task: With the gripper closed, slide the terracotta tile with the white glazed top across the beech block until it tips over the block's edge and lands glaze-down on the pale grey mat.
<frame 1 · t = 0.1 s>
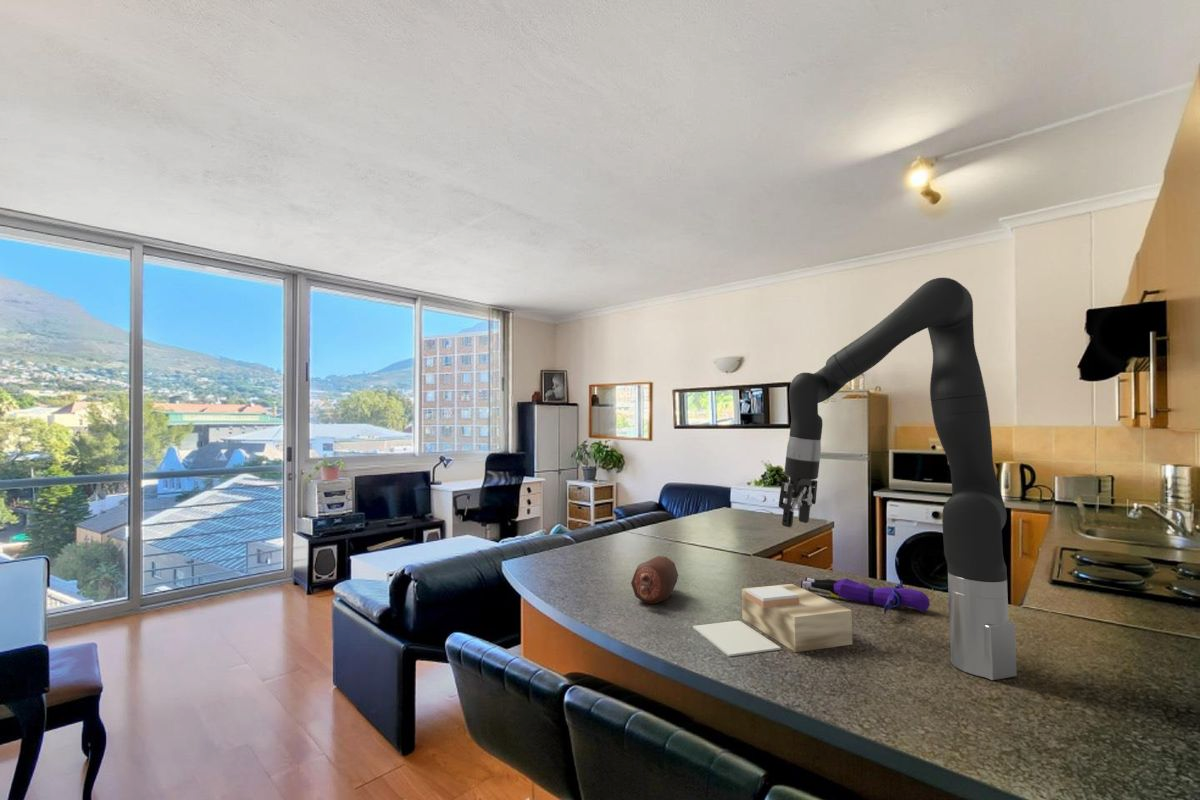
hand: (795, 524, 127), 22 cm above the worktop, tool pointing down, fingers open, 8 cm apart
toy: (863, 603, 139), on the worktop
meat: (655, 599, 142), on the worktop
tile: (771, 601, 118), point 7 cm above the worktop, touching block
block: (793, 630, 119), on the worktop
mat: (734, 638, 115), on the worktop
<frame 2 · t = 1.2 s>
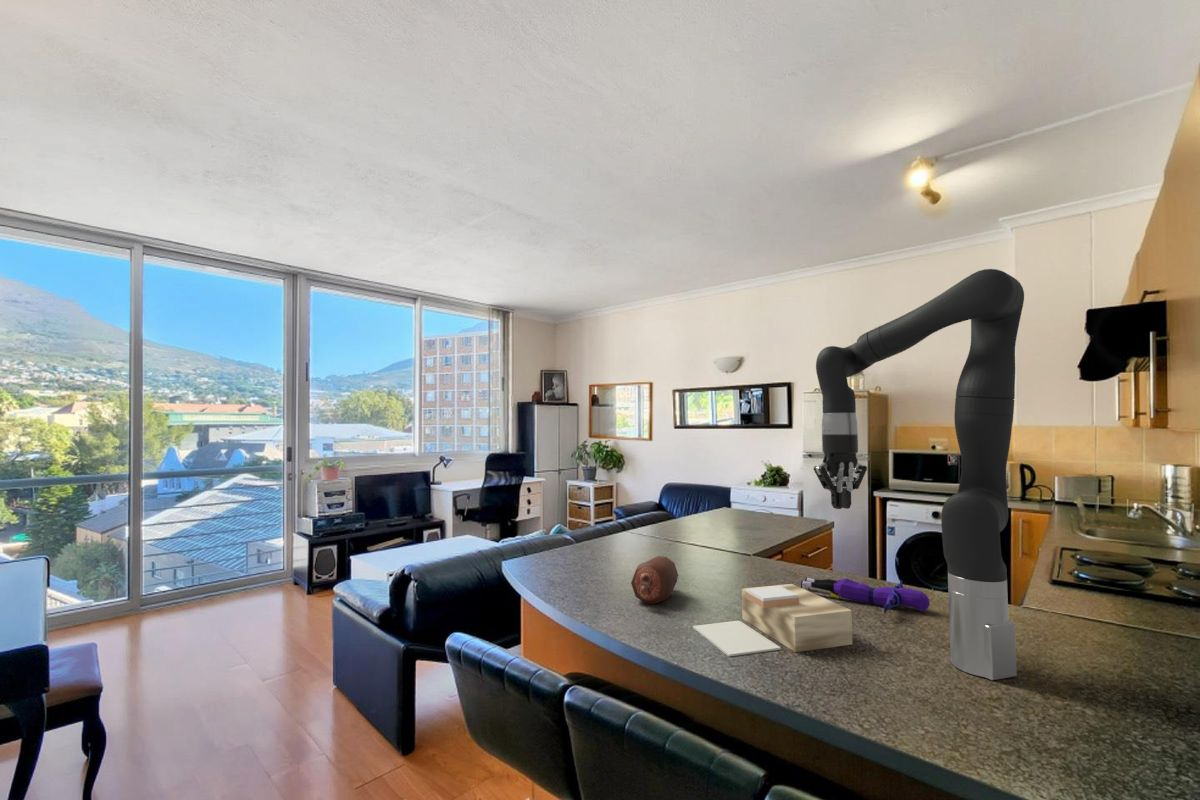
hand: (841, 508, 122), 27 cm above the worktop, tool pointing down, fingers closed
nothing on the worktop moved.
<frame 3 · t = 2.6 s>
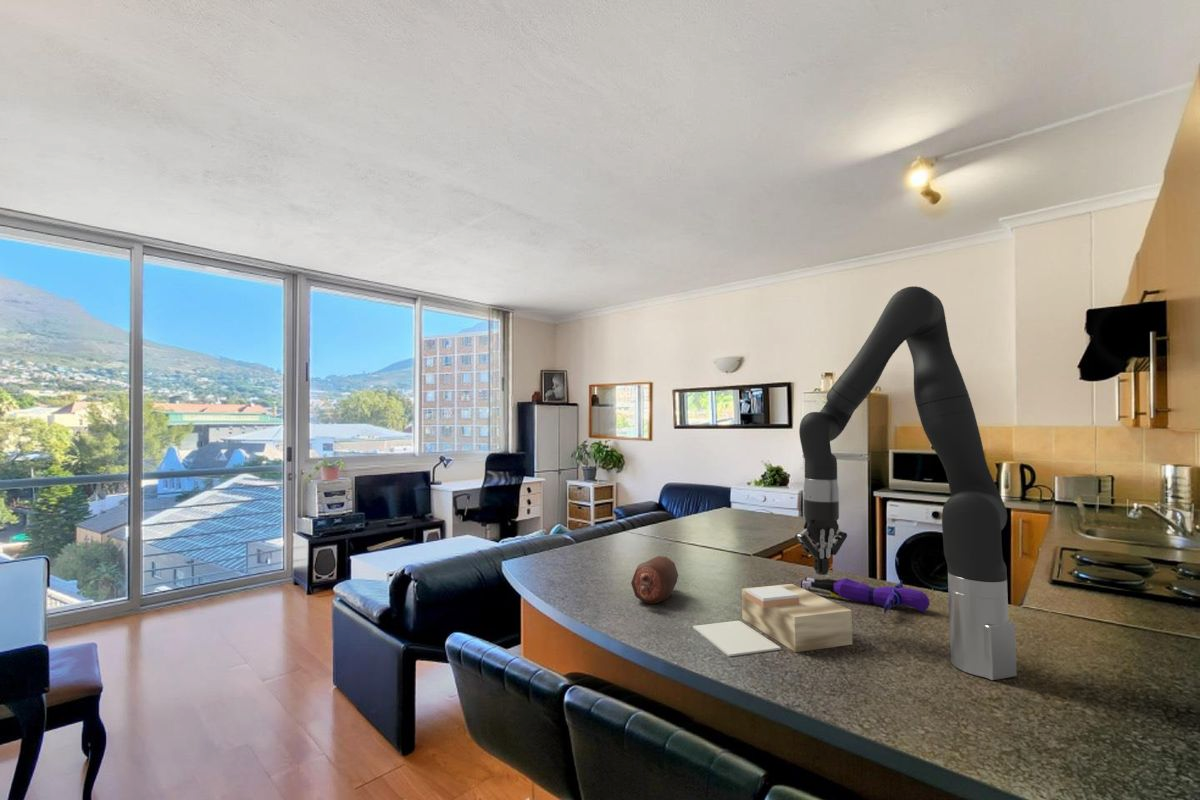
hand: (821, 573, 122), 12 cm above the worktop, tool pointing down, fingers closed
nothing on the worktop moved.
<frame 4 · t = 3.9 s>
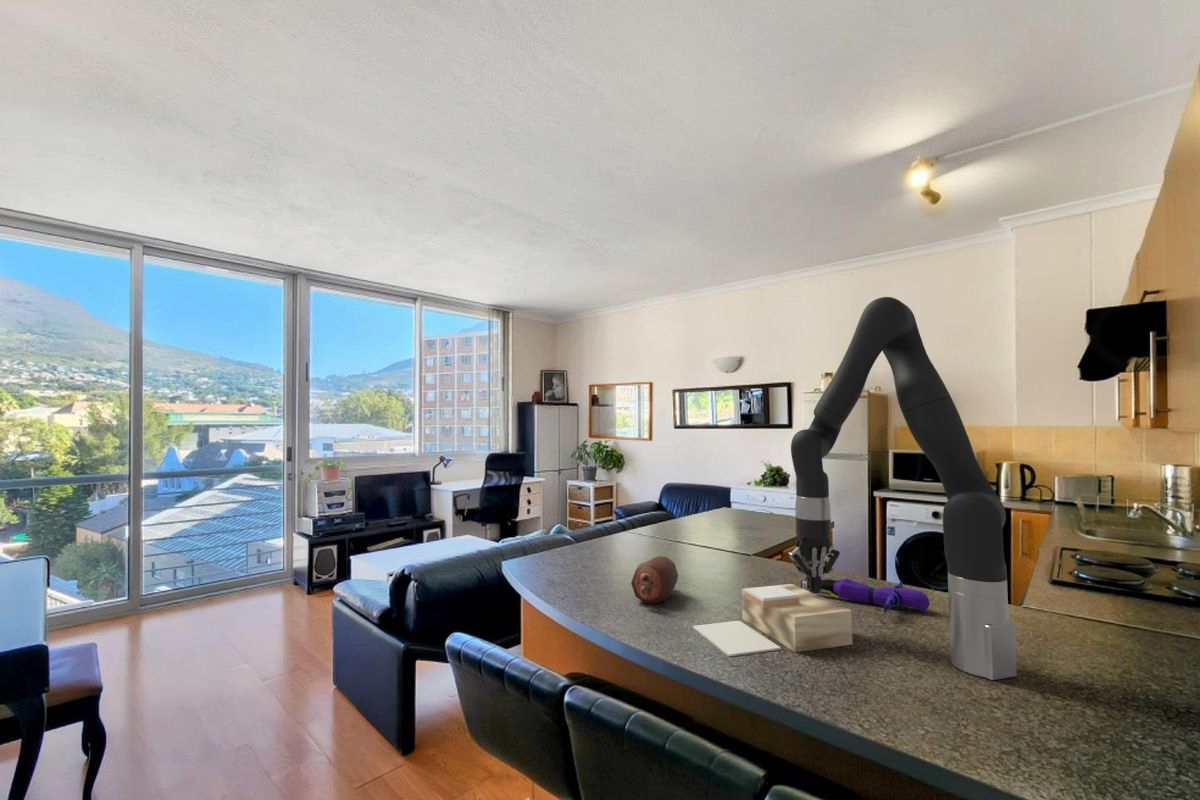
hand: (814, 592, 121), 8 cm above the worktop, tool pointing down, fingers closed
nothing on the worktop moved.
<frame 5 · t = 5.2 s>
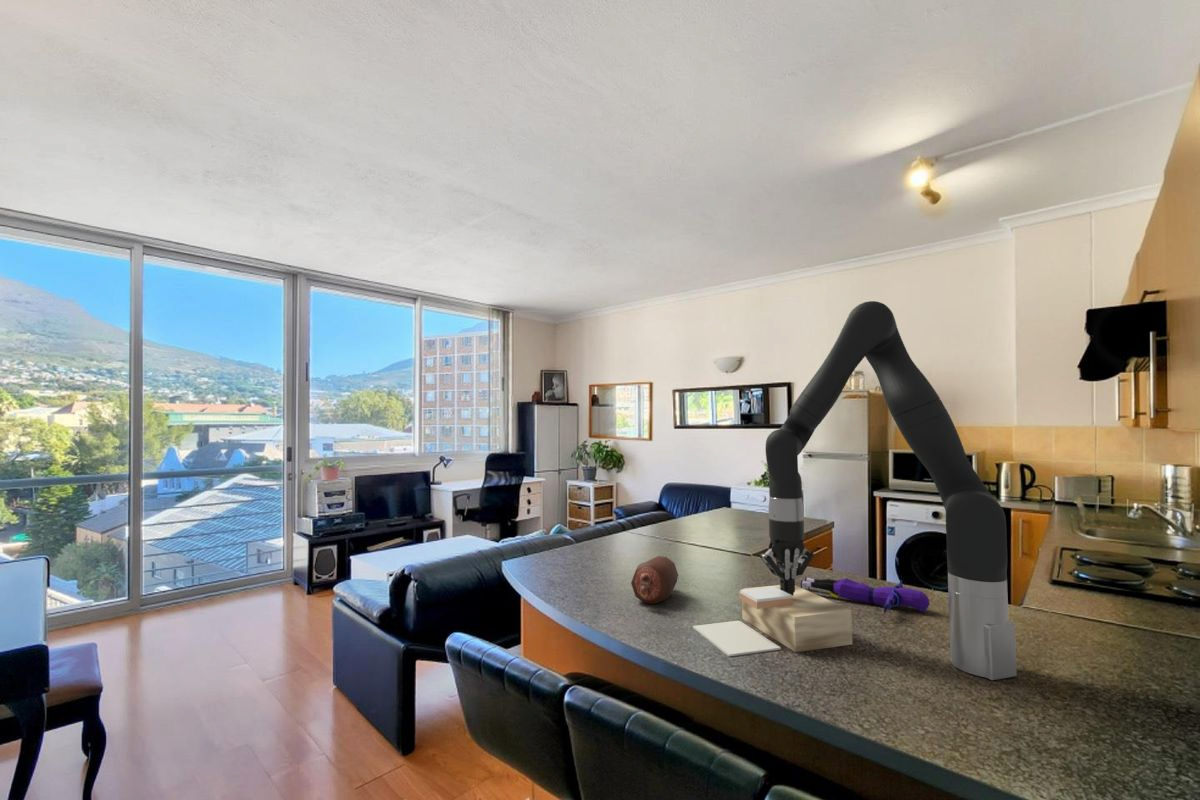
hand: (787, 594, 119), 8 cm above the worktop, tool pointing down, fingers closed
tile: (765, 601, 117), point 7 cm above the worktop, touching gripper
everything else where it was.
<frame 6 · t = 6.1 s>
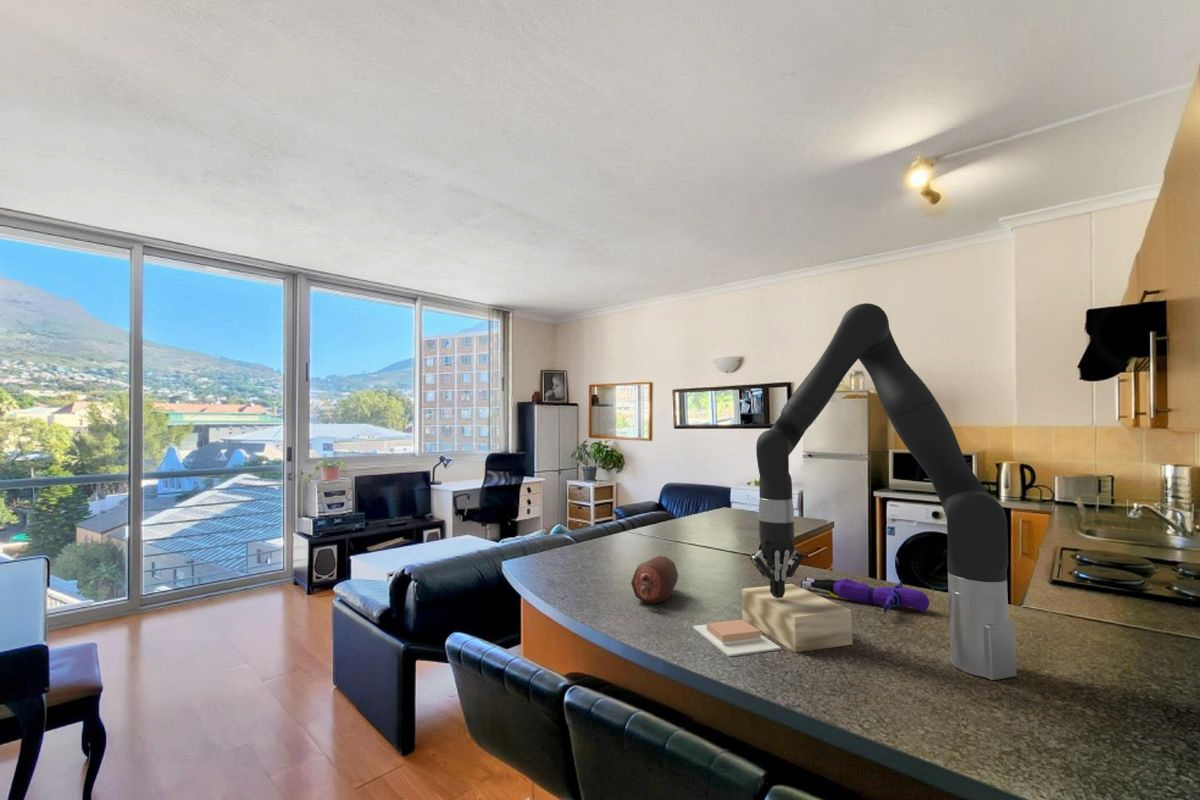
hand: (777, 596, 118), 8 cm above the worktop, tool pointing down, fingers closed
tile: (733, 627, 115), point 2 cm above the worktop, tilted 180°, touching mat
everything else where it was.
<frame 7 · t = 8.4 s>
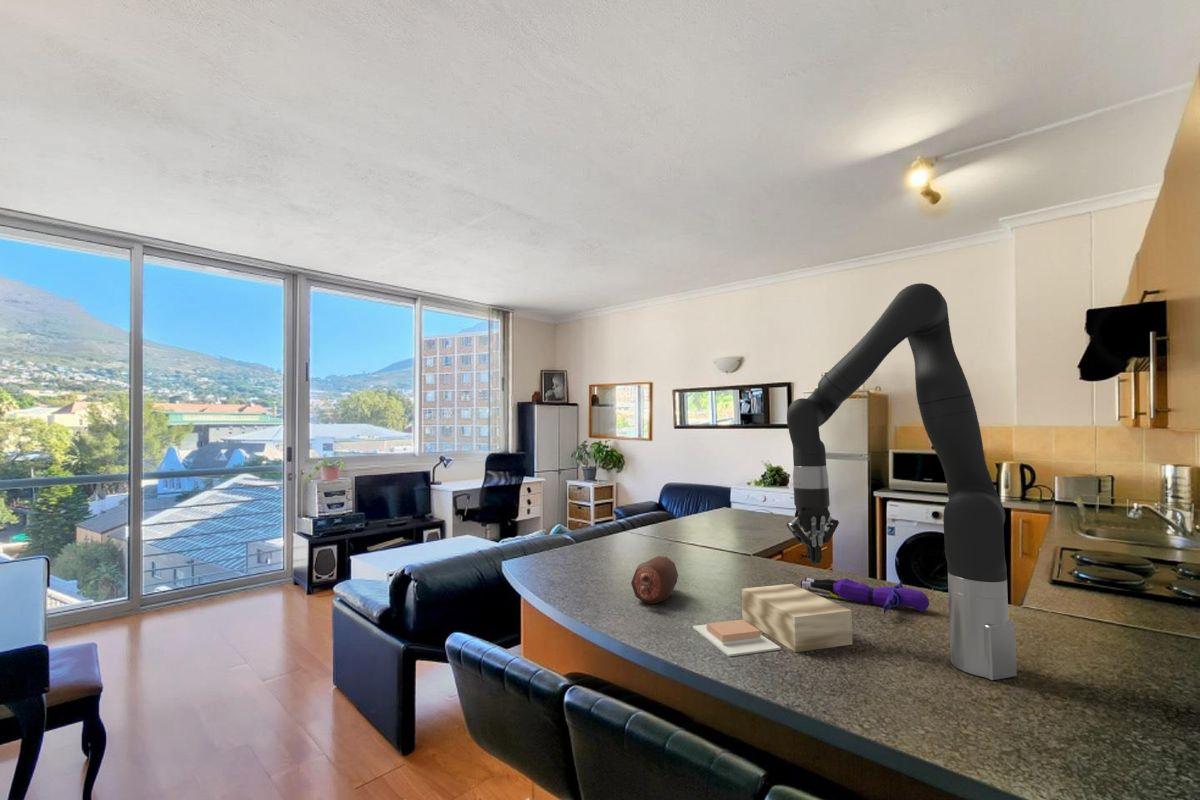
hand: (814, 562, 120), 15 cm above the worktop, tool pointing down, fingers closed
nothing on the worktop moved.
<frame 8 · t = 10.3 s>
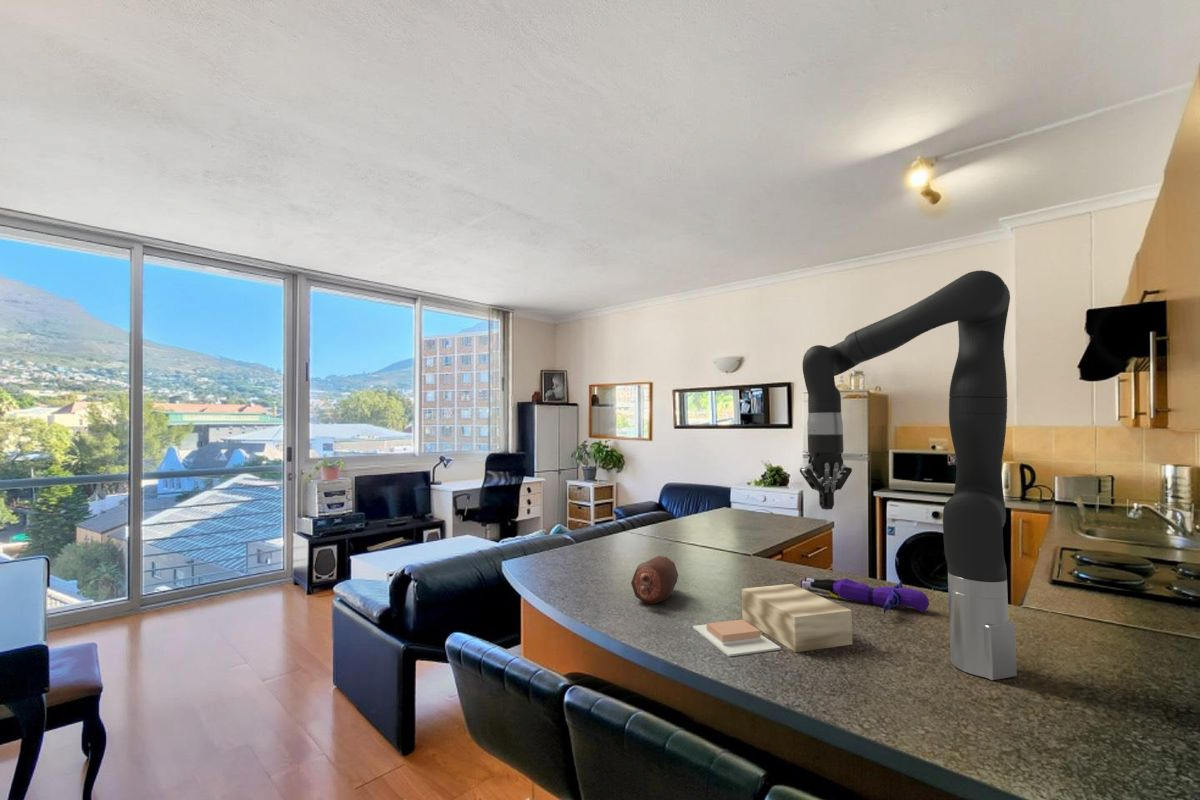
hand: (826, 508, 121), 27 cm above the worktop, tool pointing down, fingers closed
nothing on the worktop moved.
at the end: tile tilted 180°; tile inside the target area (1.1 cm from its centre), point 2.4 cm above the worktop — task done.
